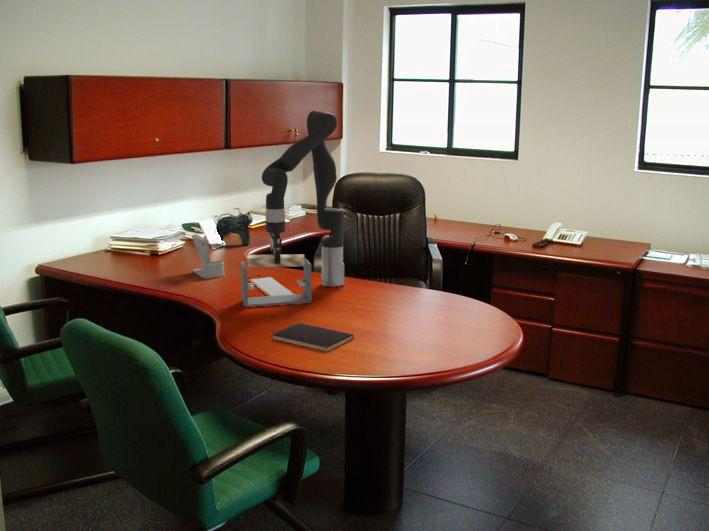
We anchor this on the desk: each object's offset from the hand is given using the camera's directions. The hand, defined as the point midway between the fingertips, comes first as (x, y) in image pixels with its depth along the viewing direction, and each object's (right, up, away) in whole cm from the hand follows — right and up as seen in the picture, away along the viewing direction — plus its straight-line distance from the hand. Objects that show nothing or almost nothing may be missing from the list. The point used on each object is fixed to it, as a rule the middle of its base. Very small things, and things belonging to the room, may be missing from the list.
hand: (276, 261), depth 304 cm
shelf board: (0, -1, 0) cm, 1 cm away
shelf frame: (0, -16, +4) cm, 17 cm away
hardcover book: (+17, -27, -39) cm, 50 cm away
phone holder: (-36, -6, +49) cm, 61 cm away
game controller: (-34, +9, +110) cm, 116 cm away
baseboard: (-6, -12, +24) cm, 27 cm away
